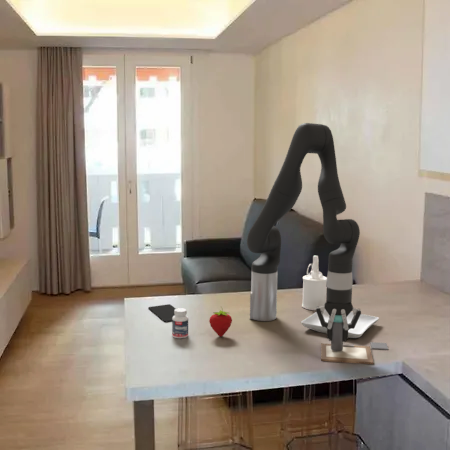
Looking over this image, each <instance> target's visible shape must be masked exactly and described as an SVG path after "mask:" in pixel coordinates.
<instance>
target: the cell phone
mask: <svg viewBox="0 0 450 450" xmlns="http://www.w3.org/2000/svg"><path fill="white" fill-rule="evenodd" d="M175 309H177V308H176V307H174V306H173V305H172V304H162V305H161V304H160V305H154V306H153V305H152V306H149V307H148V310H149V311H150V312H152V313H153V315H155V316H156V317H158V318H159V320H161V321H162V322H163V323H172V318H173V316H174V315H175V314H174V310H175Z"/></svg>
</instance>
